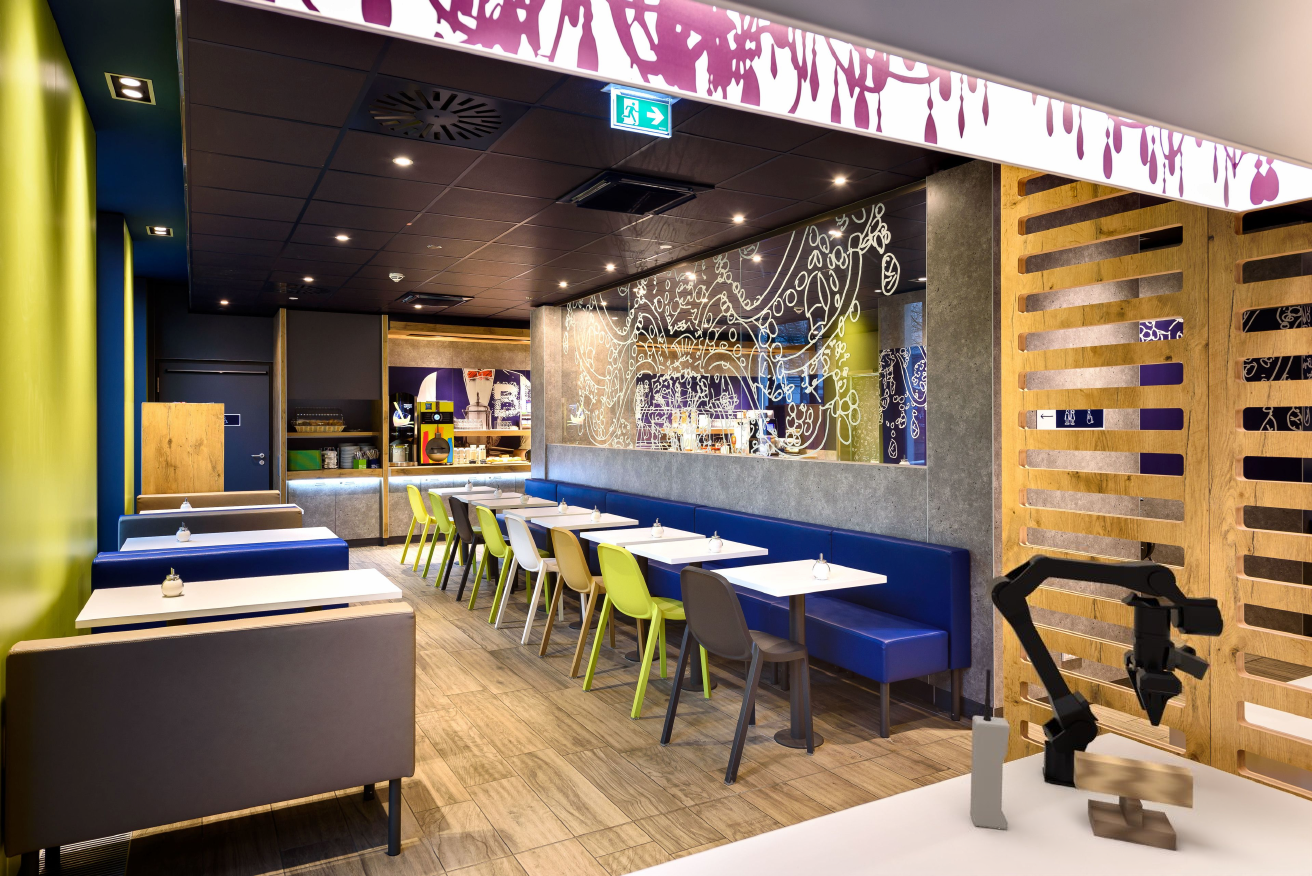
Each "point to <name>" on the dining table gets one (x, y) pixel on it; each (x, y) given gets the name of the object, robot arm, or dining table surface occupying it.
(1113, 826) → the ridge stand
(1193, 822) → the dining table surface
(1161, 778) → the light wooden block
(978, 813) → the vintage mobile phone
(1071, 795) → the dining table surface
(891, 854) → the dining table surface
